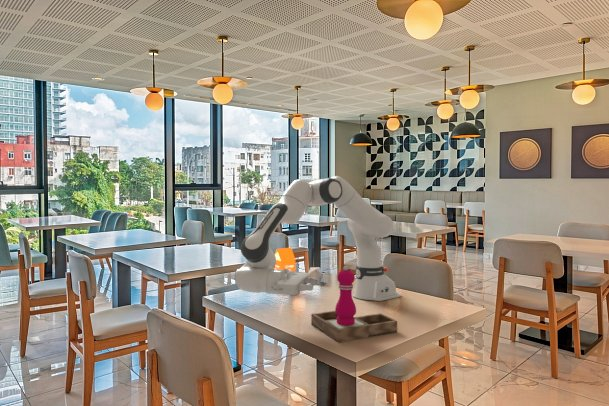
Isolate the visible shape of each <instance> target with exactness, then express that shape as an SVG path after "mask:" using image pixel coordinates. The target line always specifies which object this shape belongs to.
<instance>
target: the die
mask: <svg viewBox="0 0 609 406" xmlns="http://www.w3.org/2000/svg"><path fill="white" fill-rule="evenodd" d="M307 273H308V274H309V277H312V278H315V279H319V284H321V283H322V279H323V276H324V273H323V271H322V269H321V267H317V266H316V267H314V266H313V267H311V266H310V268H309V270H308V272H307Z"/></svg>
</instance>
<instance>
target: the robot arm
mask: <svg viewBox="0 0 609 406" xmlns="http://www.w3.org/2000/svg"><path fill="white" fill-rule="evenodd" d="M328 204H333V205H334V206H335V207H336V208H337V209H338V210H339V211H340V212H341V213H342V214H343V215H344V216H345V217H346V218H347V223H346V224H347V228H348V229H349V231H350V232H351V234H352V237H353V239H354V242H355V247H356V266H355V278H356V279H355V286H354V291H353V293H352V297H354V298H356V299H360V300H367V301H376V302H382V301H386V300H387V301H388V300H391V299H396V298H401V297H402V293H400V292H399V291H397V287H396V283H395V281H393V280H392V279H391V278H390V277H389V276H387V274H385V273H387V272H389V267H386V266H382V250H381V247H380V246H379V245H378V243H377V240H376V239H381V238H387V237H389V236H390V235H391V234H392V232H393V231H394V222H393V220H392V218H391V216H388V215H386V214H384V213H382V212H381V211H379V210H378V209H377V208H375V207H374V206H373V205H371V204H370V203H369V202H367V201H366V200H365V199H364V198H363V197H362V196H361V195H360V194H359V192H357V191H356V190H355V188H354V187H353V186H352V185H351V184H350V183H349V182H348V181H347V180H345V178H342V177H341V176H339V175H333V176H331V177H325V178H318V179H314V180H312V181H306V180H305V179H304V180H303V179H295V180H293V181H292V182H291V183H290V185H288V187H286V189H285V191H284V192H283V193H282V195H281V197H280V199H278V202H277V203H275V204H274V205H272V207H270V209H268V211H267V213H266V214H265V215H264V216H263V218H262V219H261V221H260V222H259V223H258V224H257V226H256V227H255V229H254V230H252V231H251V233H248V235H247V236H246V237H244V239H243V240H242V242H241V245H240V252H241V254H242V256H243V257H244V258H245V259H246V262H245V263H243V265H242V266H241V267H240V268H237V269H236V271H235V275H234V280H235V284H236V286H237V288H238V289H239V290H241V291H243V292H248V293H256V294H260V293H266V294H269V295H280V296H282V295H289V296H295V295H297V294H298V293H299V292H306V291H313V290H314V285H319V284H320V283H319V279H315V278H312V277H309V274H308V272H304V271H296V270H295V271H290V270H289V269H282V270H280V269H274V268H275V265H276V257H275V252H274V250H273V249H272V247H271V244H270V242H271V241H270V240H271V237H272V236H273V234H274V232H275V231H277V228H278V227H279V225H280V224H281V223H283V224H286V225H293V224H296V223H298V221H300V220H301V218H302V217H303V216H304V213H305V212H306V209H307V207H322V206H325V205H328Z"/></svg>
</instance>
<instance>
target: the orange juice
mask: <svg viewBox="0 0 609 406" xmlns="http://www.w3.org/2000/svg"><path fill="white" fill-rule="evenodd" d="M274 254H275V257H276V265H275V268H274V269H280V270H282V269H289V270H290V271H296V258H295V254H294V252H293V249H292V247H284V248H277V249H276V251H275V252H274Z"/></svg>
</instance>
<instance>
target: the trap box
mask: <svg viewBox="0 0 609 406" xmlns="http://www.w3.org/2000/svg"><path fill="white" fill-rule="evenodd" d="M310 316H311V320H310V321H311V326H313V327H315V329H317V330H319V331H320V332H321V333H324V334H325V335H327V337H330V338H331V339H333V340H334V341H336V342H337V343H343V342H349V341H353V340H359V339H360V340H361V339H366V338H372V337H377V336H383V335H390V334H394V333H398V321H397V320H396V319H393V318H391V317H389V316H387V315H385V314H383V313H372V314H368V315H362V316H361V315H360V316H355V317H354V316H353V317H354V318H355V323H354V324H353V325H348V326H345V325H340V324H338V323H337V317H338V315H337V314H336V312H335V310H329V311H324V312H323V311H322V312H316V313H315V312H314V313H311V315H310Z"/></svg>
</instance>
